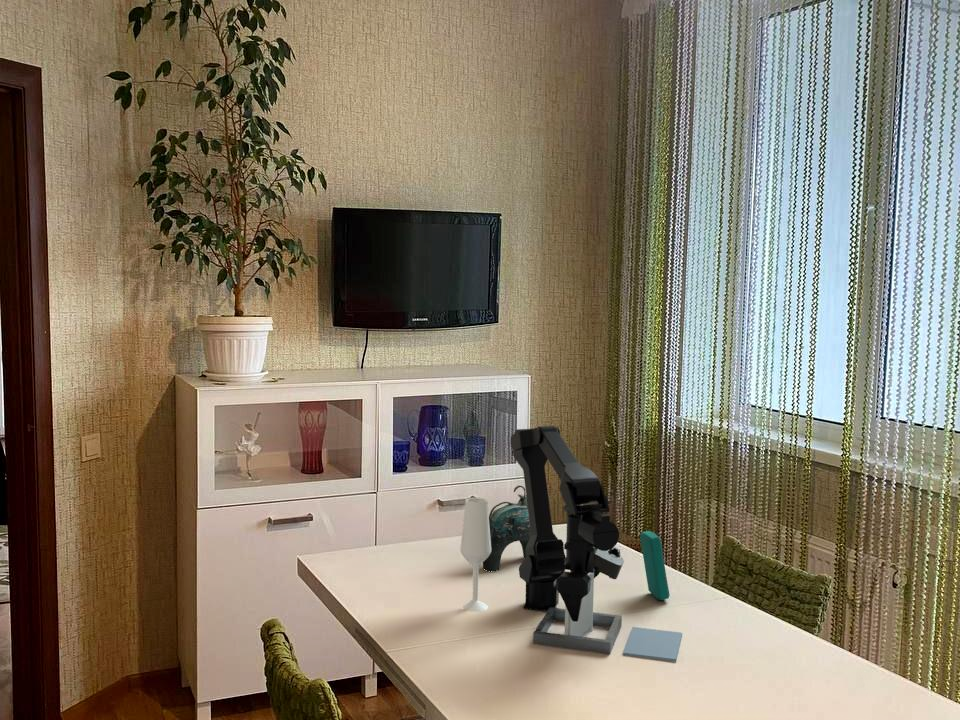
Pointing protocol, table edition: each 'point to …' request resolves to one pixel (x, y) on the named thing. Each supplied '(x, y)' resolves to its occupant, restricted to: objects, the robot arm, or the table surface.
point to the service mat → (653, 644)
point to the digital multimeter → (654, 565)
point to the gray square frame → (576, 641)
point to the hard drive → (582, 615)
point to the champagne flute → (476, 543)
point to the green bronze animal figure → (507, 529)
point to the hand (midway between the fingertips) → (579, 613)
